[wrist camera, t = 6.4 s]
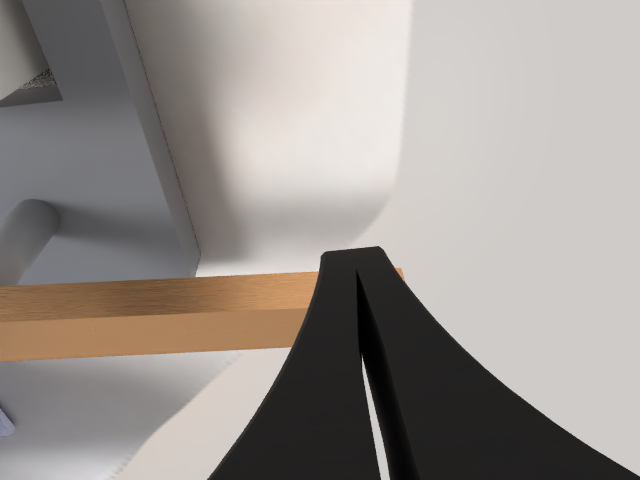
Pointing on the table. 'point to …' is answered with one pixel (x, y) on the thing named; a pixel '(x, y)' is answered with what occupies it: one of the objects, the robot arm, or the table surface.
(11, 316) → the wooden square stick
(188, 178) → the table surface
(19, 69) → the plug
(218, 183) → the table surface
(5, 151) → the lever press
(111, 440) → the table surface
